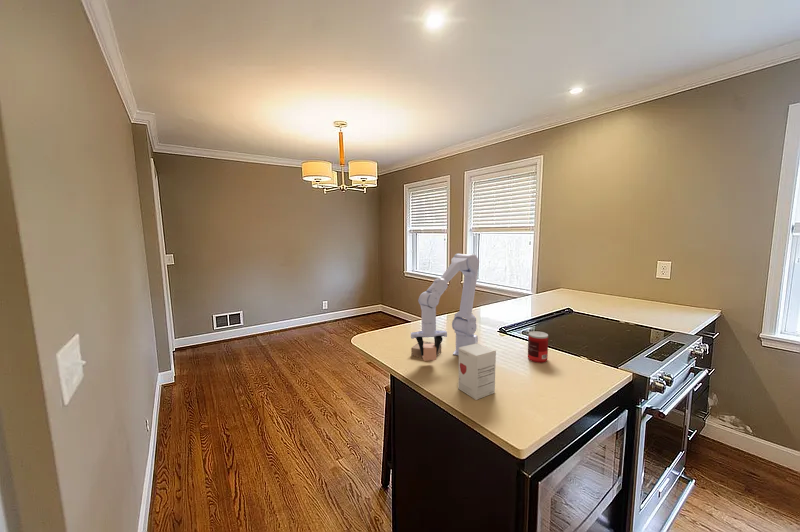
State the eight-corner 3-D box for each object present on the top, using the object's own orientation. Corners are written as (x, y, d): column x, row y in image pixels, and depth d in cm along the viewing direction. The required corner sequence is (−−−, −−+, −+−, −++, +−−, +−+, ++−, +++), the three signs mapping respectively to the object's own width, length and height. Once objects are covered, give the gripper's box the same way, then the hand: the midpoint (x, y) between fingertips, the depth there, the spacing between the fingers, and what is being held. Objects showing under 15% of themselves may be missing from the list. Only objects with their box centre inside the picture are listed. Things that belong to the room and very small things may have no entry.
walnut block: (441, 352, 146) (441, 344, 146) (432, 360, 138) (432, 351, 137) (421, 349, 151) (421, 340, 151) (411, 356, 142) (411, 347, 142)
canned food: (547, 357, 138) (548, 332, 137) (547, 364, 131) (548, 338, 130) (528, 354, 142) (529, 330, 140) (527, 361, 135) (527, 335, 133)
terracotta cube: (433, 355, 135) (433, 343, 134) (436, 359, 130) (436, 347, 129) (421, 355, 134) (421, 344, 134) (423, 360, 129) (423, 348, 129)
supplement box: (457, 389, 112) (457, 347, 111) (476, 382, 117) (477, 342, 115) (475, 400, 104) (476, 355, 103) (495, 393, 109) (496, 350, 107)
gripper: (444, 318, 135) (444, 349, 137) (409, 319, 134) (409, 351, 135) (448, 322, 128) (448, 356, 130) (411, 324, 127) (412, 358, 128)
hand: (429, 354), depth 132 cm, fingers closed on terracotta cube, 5 cm apart
